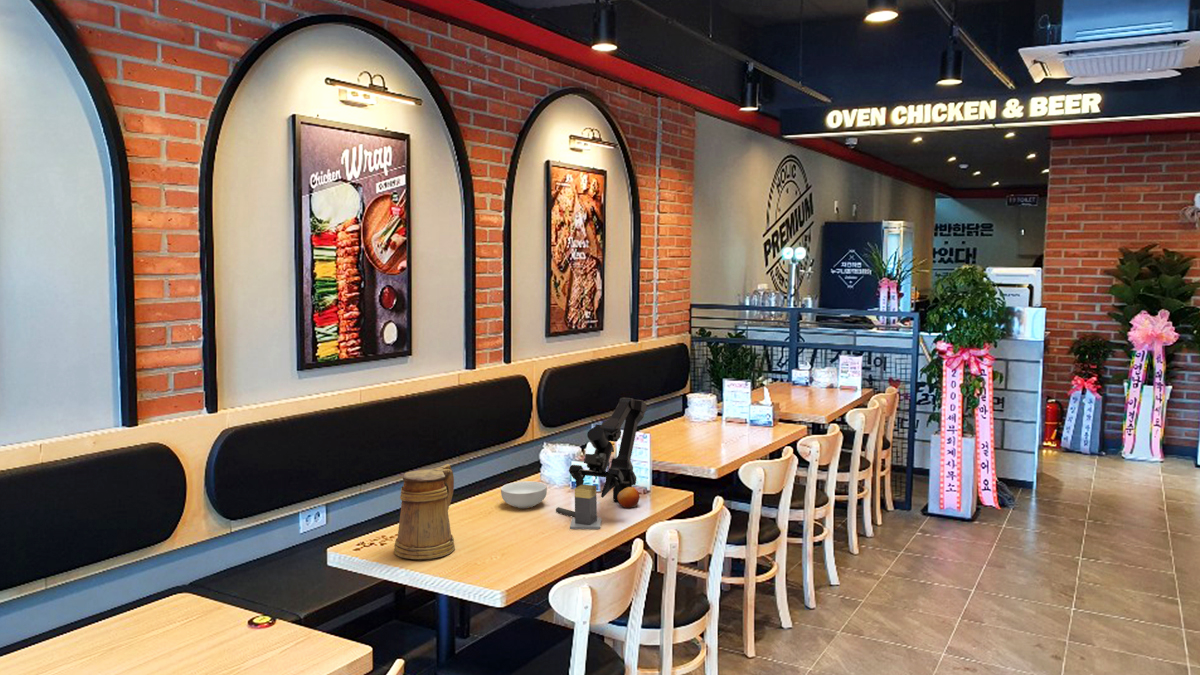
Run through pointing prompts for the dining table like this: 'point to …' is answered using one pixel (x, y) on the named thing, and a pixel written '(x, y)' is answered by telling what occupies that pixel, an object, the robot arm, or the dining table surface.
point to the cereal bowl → (524, 493)
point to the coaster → (581, 526)
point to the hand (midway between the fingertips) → (589, 495)
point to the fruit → (628, 497)
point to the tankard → (425, 514)
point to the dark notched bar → (565, 511)
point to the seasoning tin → (585, 504)
